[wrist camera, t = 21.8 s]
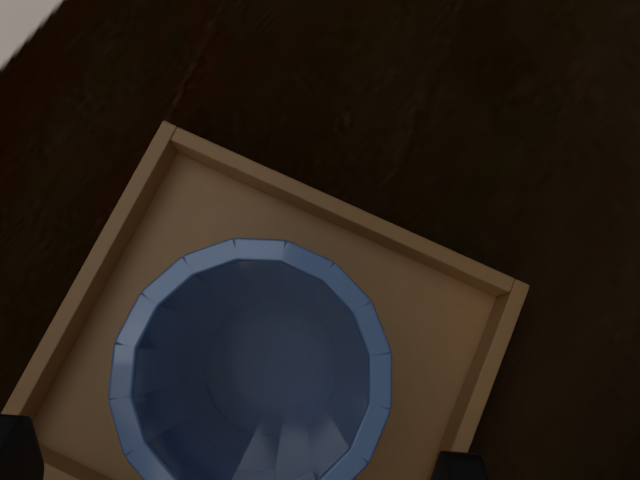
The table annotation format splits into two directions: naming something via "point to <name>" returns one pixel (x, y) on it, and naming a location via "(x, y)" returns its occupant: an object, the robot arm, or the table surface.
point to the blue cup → (251, 368)
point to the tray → (302, 229)
